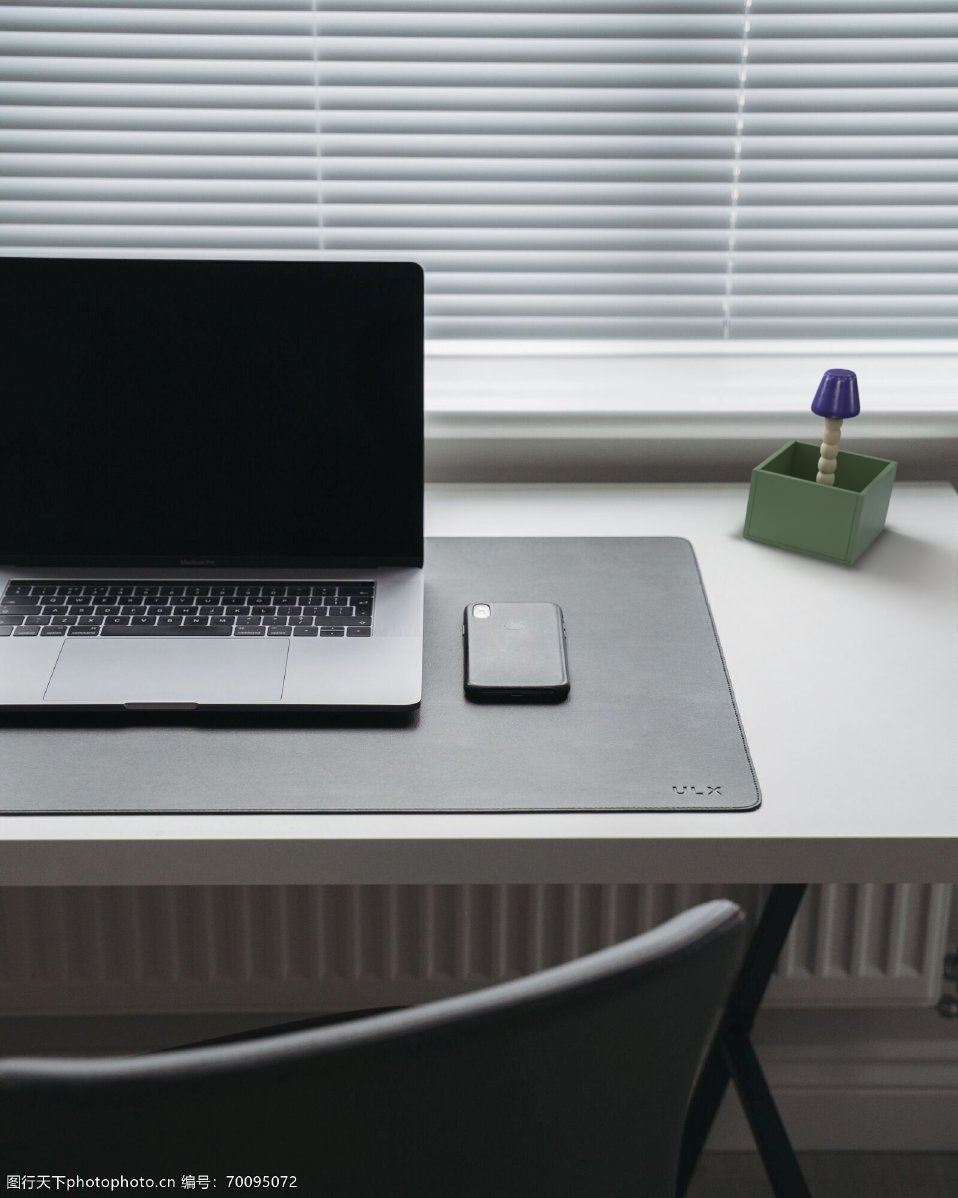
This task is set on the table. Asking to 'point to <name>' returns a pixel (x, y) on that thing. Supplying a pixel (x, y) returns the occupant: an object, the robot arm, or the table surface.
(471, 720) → the table surface
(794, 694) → the table surface
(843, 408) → the toy lamp
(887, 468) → the bin
